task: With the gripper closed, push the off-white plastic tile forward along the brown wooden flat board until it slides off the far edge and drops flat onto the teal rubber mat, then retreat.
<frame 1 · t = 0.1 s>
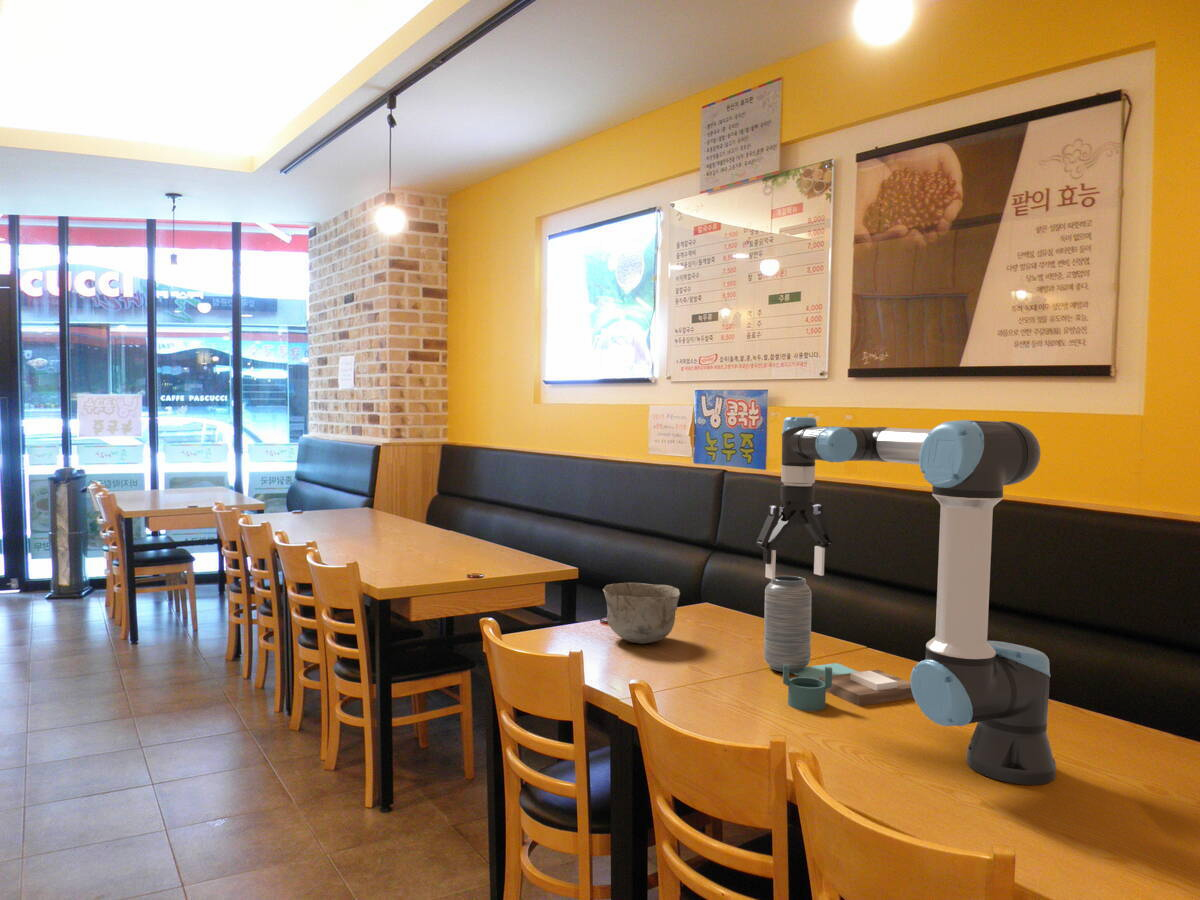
hand: (794, 576, 202), 28 cm above the table, fingers open, 13 cm apart
brown wooden flat board: (868, 692, 208), on the table
white rectangular block: (873, 683, 206), point 2 cm above the table, touching brown wooden flat board
vase: (786, 668, 224), on the table, touching mat
bowl: (640, 642, 249), on the table
bracket: (806, 705, 198), on the table
mat: (829, 675, 220), on the table
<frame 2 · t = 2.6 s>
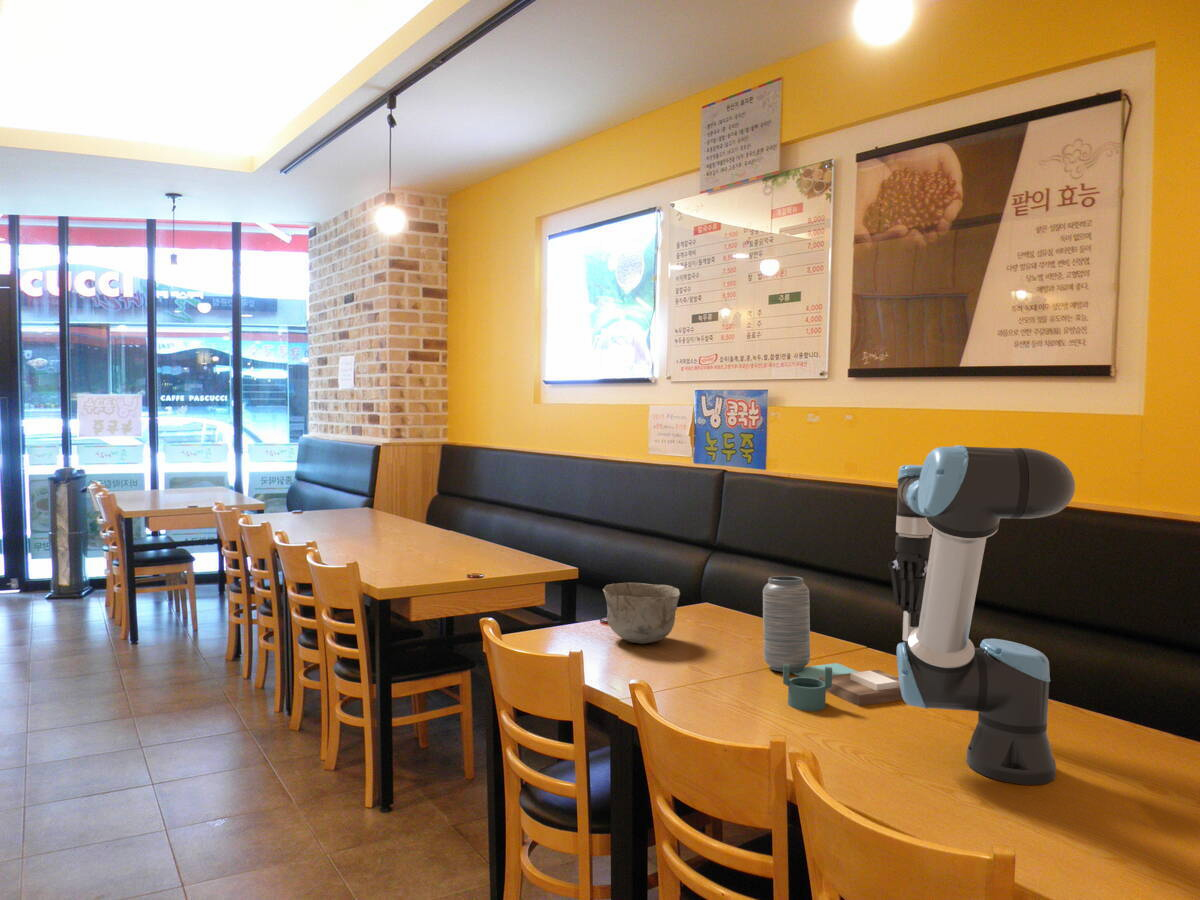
hand: (909, 640, 196), 15 cm above the table, fingers closed
vase: (786, 669, 224), on the table, touching mat
everything else where it was.
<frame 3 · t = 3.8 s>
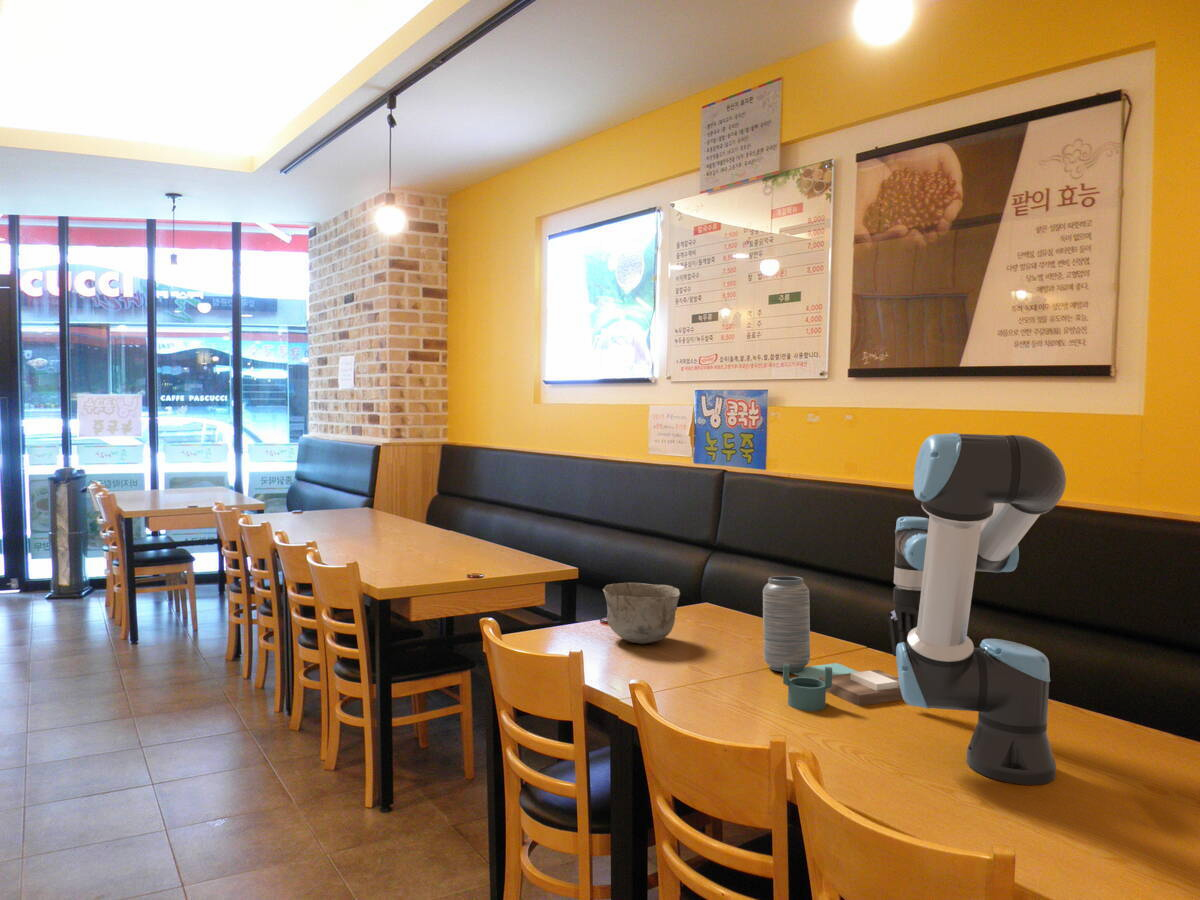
hand: (907, 691, 196), 4 cm above the table, fingers closed
nothing on the table moved.
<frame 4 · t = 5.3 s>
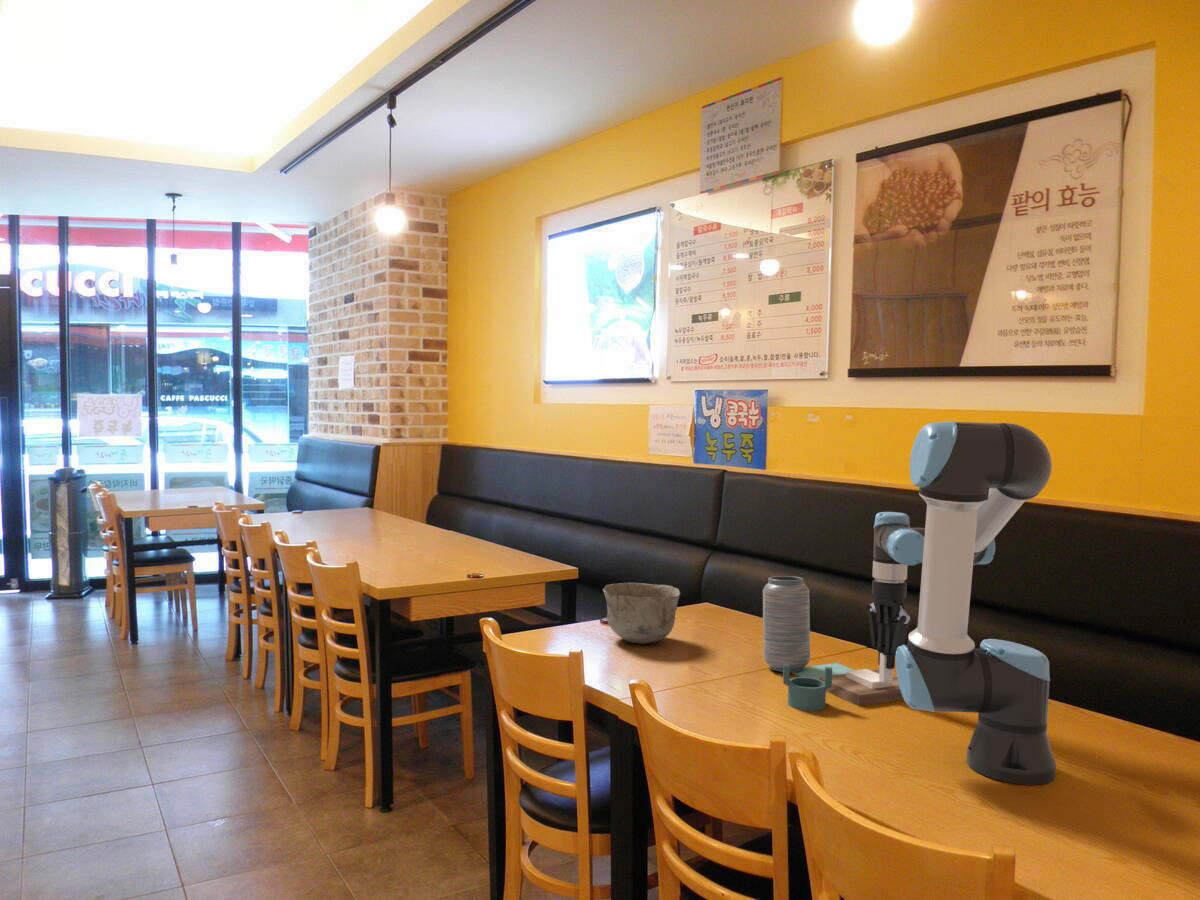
hand: (885, 681, 203), 4 cm above the table, fingers closed
white rectangular block: (869, 681, 207), point 3 cm above the table
everything else where it was.
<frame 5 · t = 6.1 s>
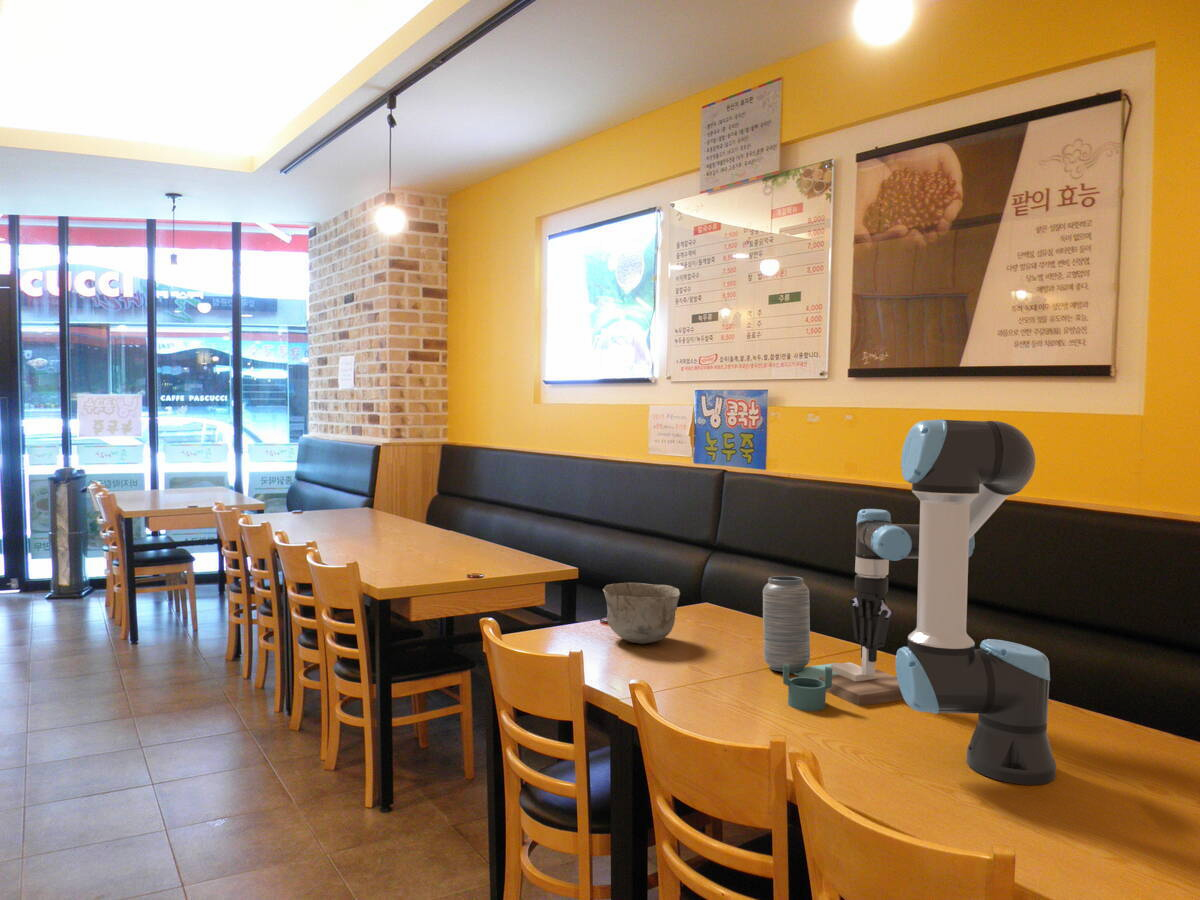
hand: (868, 673, 208), 4 cm above the table, fingers closed
white rectangular block: (852, 674, 213), point 3 cm above the table, touching gripper
everything else where it was.
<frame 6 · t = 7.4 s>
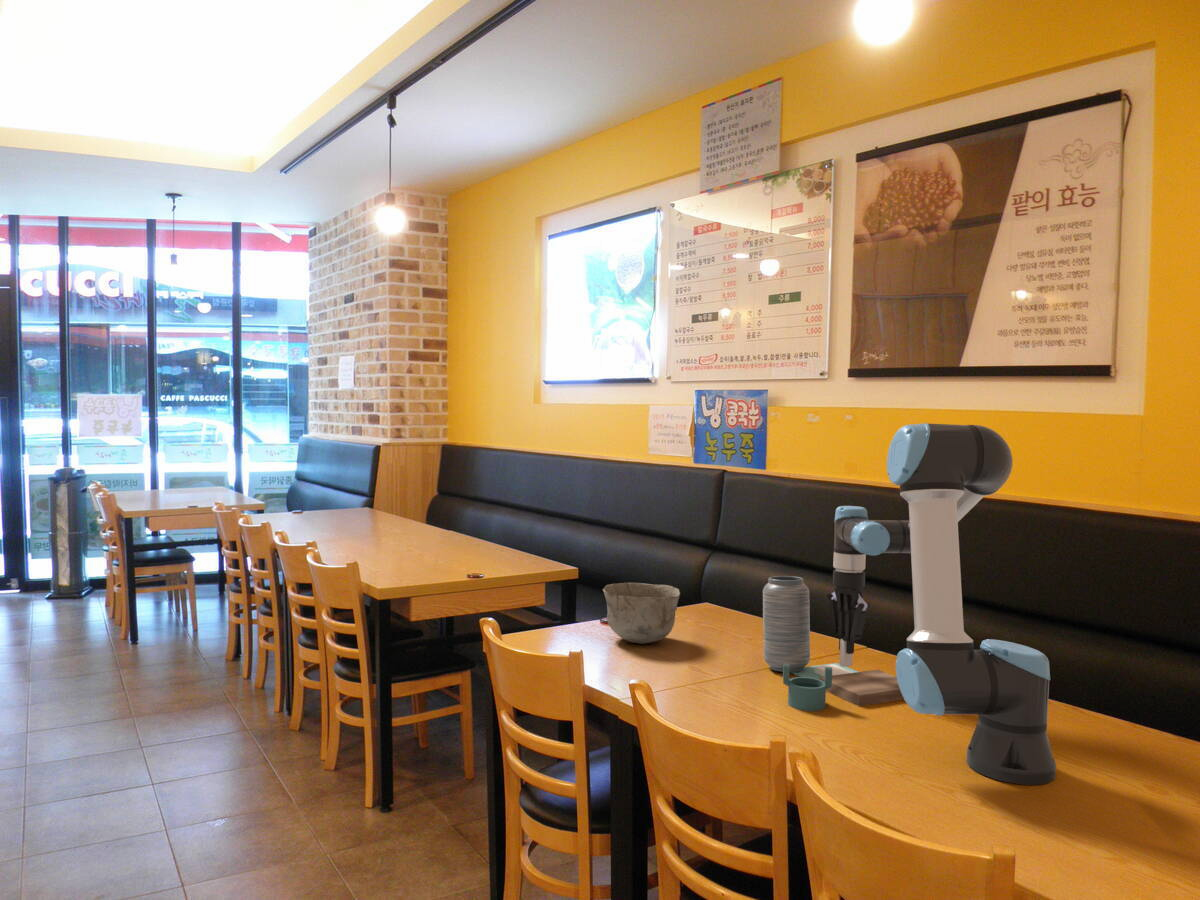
hand: (845, 665, 215), 4 cm above the table, fingers closed
white rectangular block: (835, 676, 218), resting on mat
everything else where it was.
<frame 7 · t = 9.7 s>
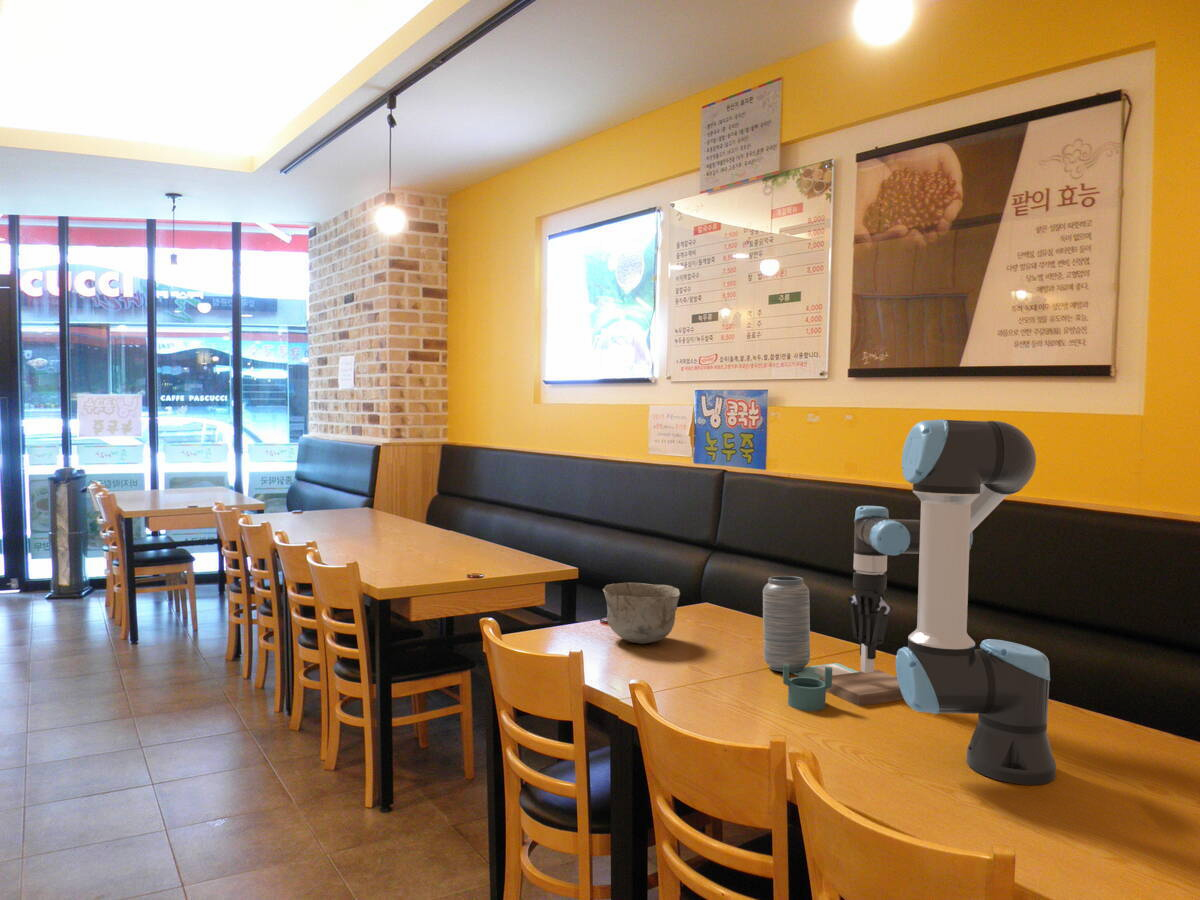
hand: (867, 671, 207), 5 cm above the table, fingers closed
nothing on the table moved.
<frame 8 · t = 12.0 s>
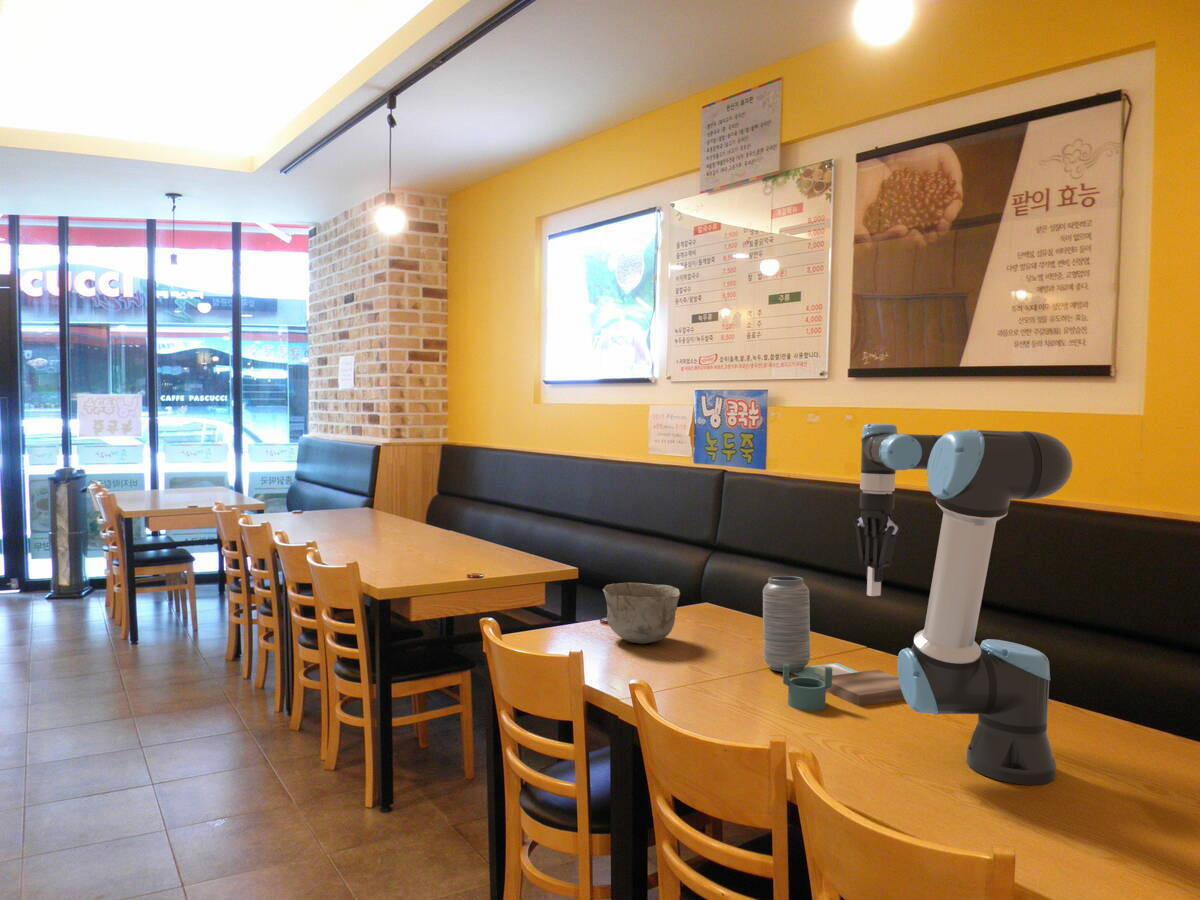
hand: (873, 595, 200), 24 cm above the table, fingers closed
nothing on the table moved.
at the end: white rectangular block resting on mat; white rectangular block inside the target area on the mat (2.3 cm from its centre), point 0.4 cm above the mat's base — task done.
